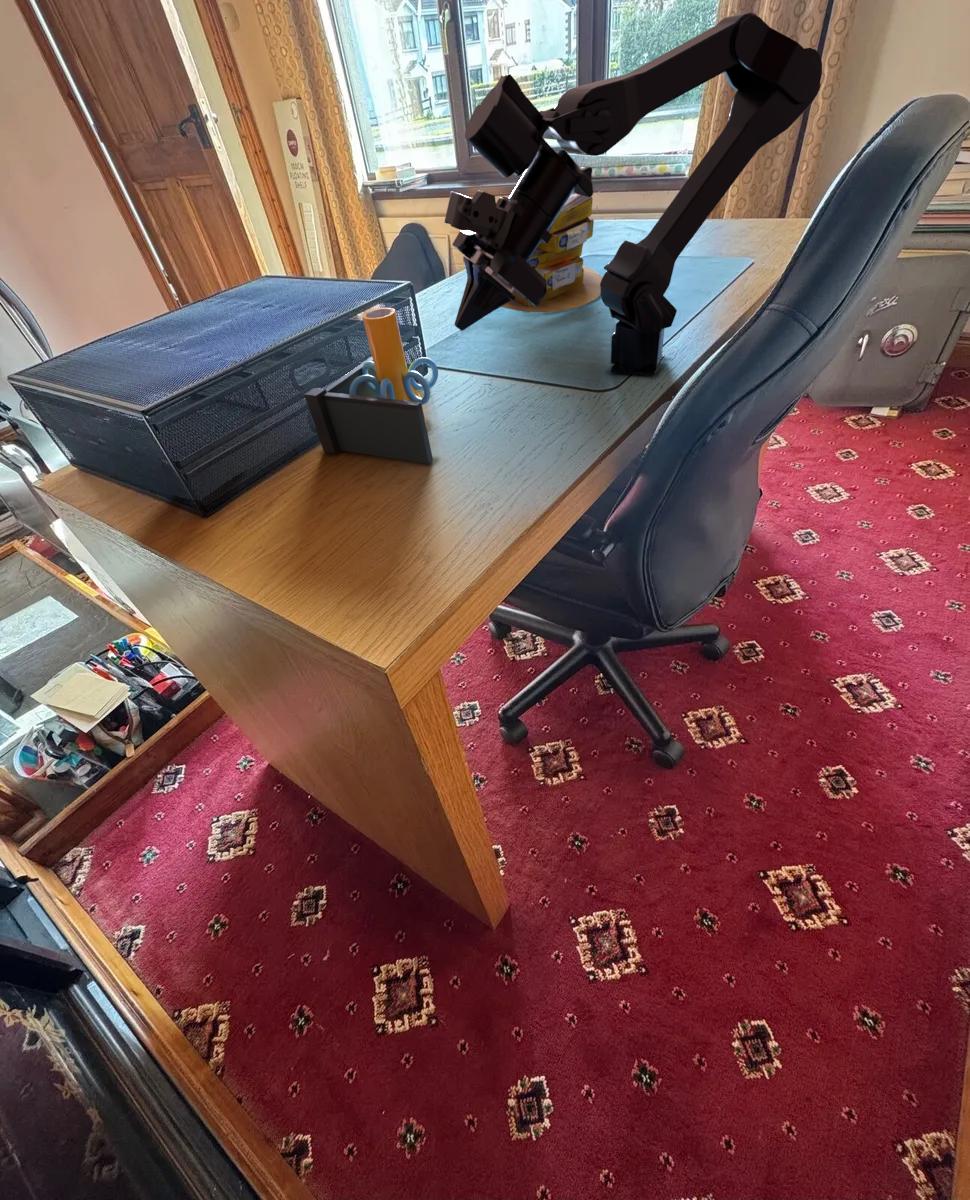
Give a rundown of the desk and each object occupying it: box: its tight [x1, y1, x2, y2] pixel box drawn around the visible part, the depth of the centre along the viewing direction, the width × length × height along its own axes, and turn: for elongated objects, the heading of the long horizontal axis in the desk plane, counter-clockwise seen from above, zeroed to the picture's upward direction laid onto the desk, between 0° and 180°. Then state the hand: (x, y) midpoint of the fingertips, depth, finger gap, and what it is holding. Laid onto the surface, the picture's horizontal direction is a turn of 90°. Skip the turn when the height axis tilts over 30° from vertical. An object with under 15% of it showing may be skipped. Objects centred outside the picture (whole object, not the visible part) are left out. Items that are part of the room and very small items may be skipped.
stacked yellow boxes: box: [500, 192, 603, 314], centre depth 108 cm, size 25×25×17 cm
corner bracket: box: [303, 355, 434, 465], centre depth 75 cm, size 16×17×8 cm
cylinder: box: [349, 307, 439, 424], centre depth 72 cm, size 12×10×15 cm
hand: (458, 328), depth 72 cm, fingers closed
